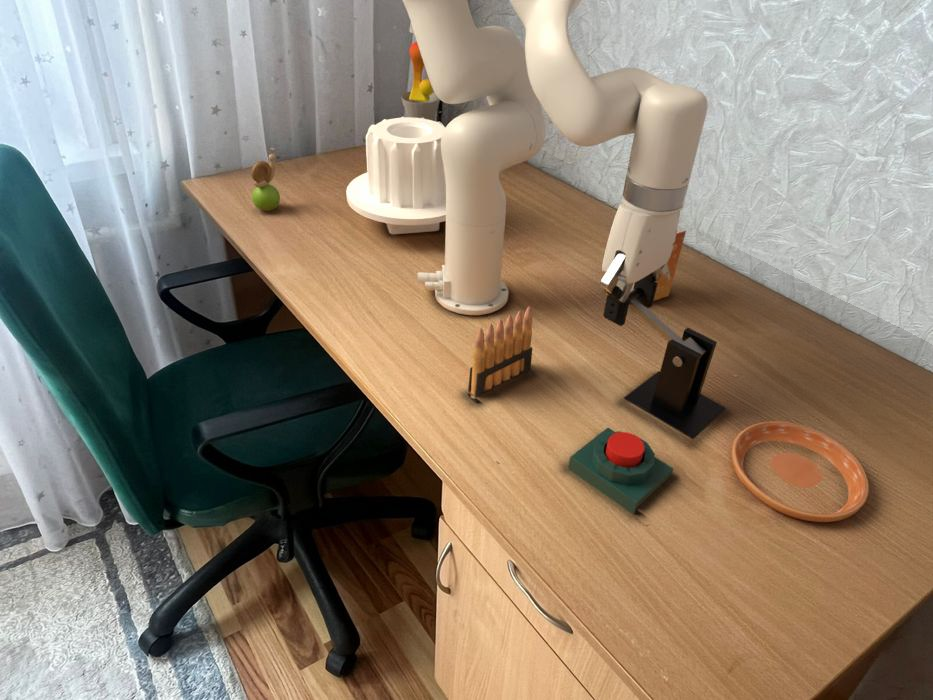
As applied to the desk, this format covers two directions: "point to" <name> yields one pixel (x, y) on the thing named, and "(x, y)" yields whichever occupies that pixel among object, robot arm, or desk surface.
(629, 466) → the button
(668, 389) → the stand
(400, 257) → the desk surface
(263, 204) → the snail figurine
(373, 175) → the ribbed cylinder on disc
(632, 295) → the lever
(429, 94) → the lava lamp
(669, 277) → the small box
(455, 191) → the robot arm
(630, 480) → the button block
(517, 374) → the ammunition clip
